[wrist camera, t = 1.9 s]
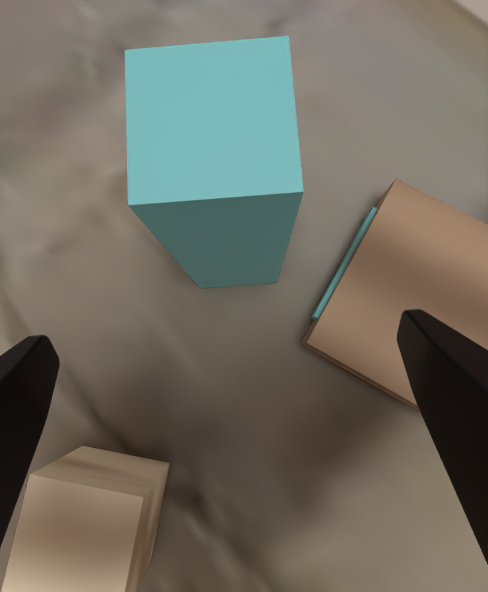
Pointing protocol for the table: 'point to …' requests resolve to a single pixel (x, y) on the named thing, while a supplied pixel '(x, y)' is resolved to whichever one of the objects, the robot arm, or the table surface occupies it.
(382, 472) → the table surface
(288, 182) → the teal pillar
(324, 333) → the tan flat block
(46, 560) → the birch cube
